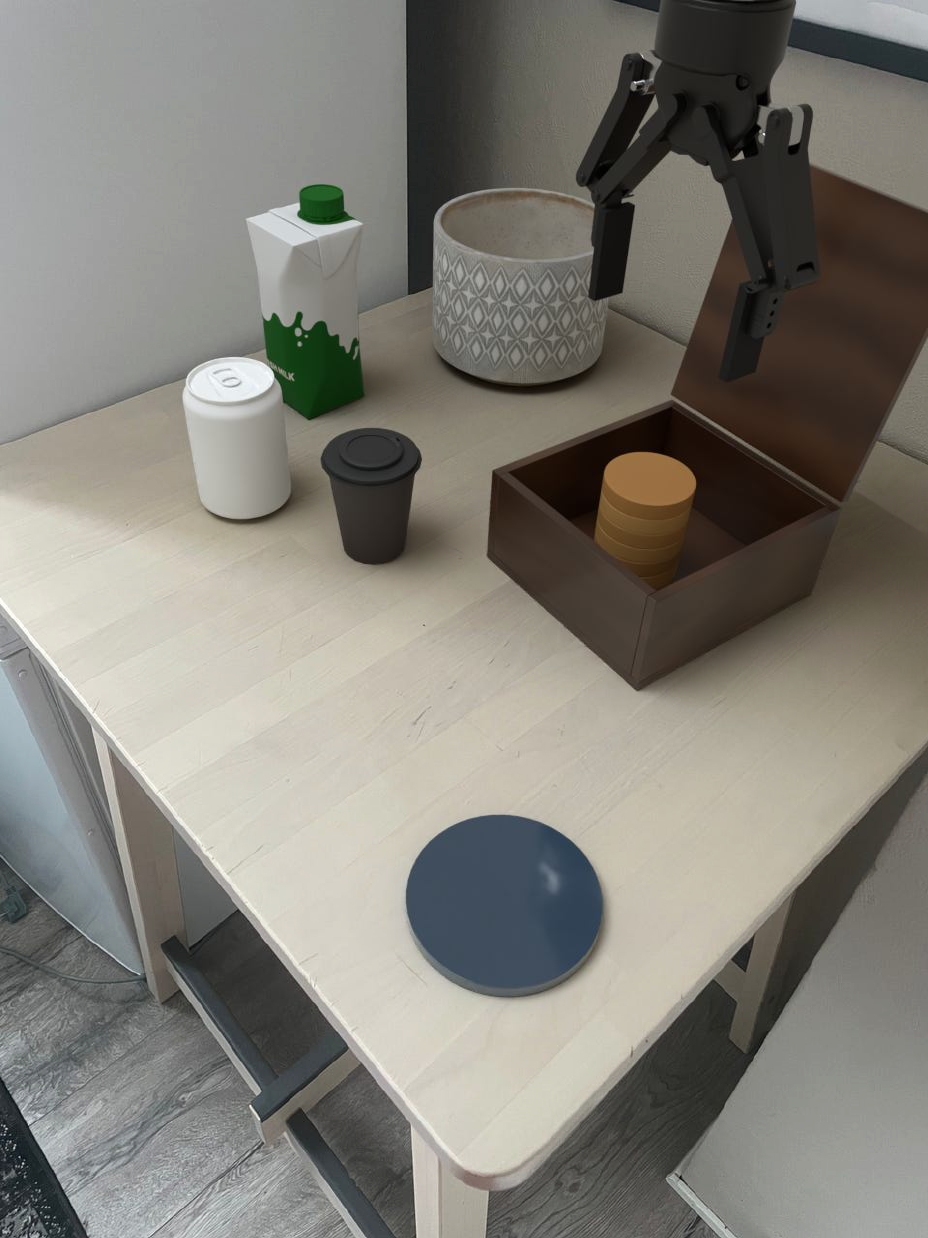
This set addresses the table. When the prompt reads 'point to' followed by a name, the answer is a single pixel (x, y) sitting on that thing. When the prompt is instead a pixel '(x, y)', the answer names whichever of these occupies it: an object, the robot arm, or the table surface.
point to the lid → (822, 338)
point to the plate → (503, 905)
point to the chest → (711, 553)
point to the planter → (516, 286)
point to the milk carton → (310, 298)
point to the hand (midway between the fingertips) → (667, 333)
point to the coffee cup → (372, 490)
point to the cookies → (645, 514)
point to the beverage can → (237, 437)
